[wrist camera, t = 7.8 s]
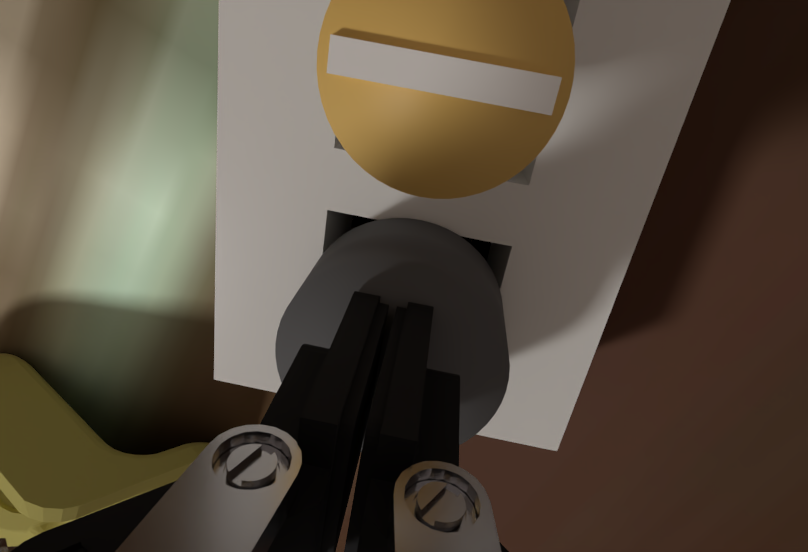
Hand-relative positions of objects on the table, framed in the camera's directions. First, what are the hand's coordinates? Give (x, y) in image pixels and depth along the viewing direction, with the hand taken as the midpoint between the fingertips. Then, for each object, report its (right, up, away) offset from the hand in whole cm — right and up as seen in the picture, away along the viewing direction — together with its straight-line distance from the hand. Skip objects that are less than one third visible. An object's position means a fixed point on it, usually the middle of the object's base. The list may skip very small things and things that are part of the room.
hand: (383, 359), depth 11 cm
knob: (+1, +2, +6) cm, 6 cm away
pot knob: (+2, +7, +1) cm, 7 cm away
